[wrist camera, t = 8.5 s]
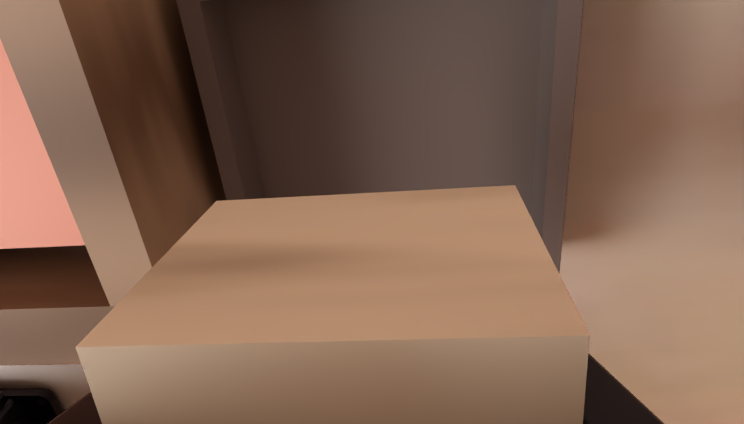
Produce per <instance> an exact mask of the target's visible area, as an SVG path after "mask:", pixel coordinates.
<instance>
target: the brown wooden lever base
mask: <svg viewBox="0 0 744 424" xmlns="http://www.w3.org/2000/svg"><path fill="white" fill-rule="evenodd" d="M0 39H1V42H2V44H3V47H4V49H5V51H6V54H7V56H8V59H9V61H10V64H11V66H12V68H13V71H14V73H15V76H16V78H17V81H18V83H19V85H20V88H21V90H22V93H23V95H24V98H25V100H26V102H27V105H28V107H29V110H30V112H31V115H32V117H33V119H34V122H35V124H36V127H37V129H38V132H39V134H40V136H41V139H42V141H43V144H44V146H45V149H46V151H47V153H48V156H49V158H50V161H51V163H52V166H53V168H54V171H55V173H56V175H57V178H58V180H59V183H60V185H61V188H62V190H63V192H64V195H65V197H66V200H67V202H68V205H69V207H70V209H71V212H72V214H73V217H74V219H75V222H76V224H77V226H78V229H79V231H80V234H81V236H82V239H83V241H84V243H85V245H80V246H57V247H33V248H10V249H0V365H56V364H81V362H80V359H79V356H78V353H77V351H76V348H75V347H76V346H77V345H78V344H79V343H80V342H81V341H82V340H83V339H84V338H85V337H86V336H87V335H88V334H89V333H90V332H91V330H92V329H93V328H94V327H95V326H96V325H97V324H98V323H99V322H100V321H101V320H102V319H103V318H104V317H105V316H106V315H107V314H108V313H109V312H110V311H111V310H112V309H113V308H114V307H115V306H116V305H117V304H118V302H119V301H120V300H121V299H122V298H123V297H124V296H125V295H126V294H127V293H128V292H129V291H130V290H131V289H132V288H133V287H134V286H135V285H136V284H137V283H138V282H139V281H140V280H141V279H142V278H143V277H144V276H145V274H146V273H147V272H148V271H149V270H150V269H151V268H152V267H153V266H154V265H155V264H156V263H157V262H158V261H159V260H160V259H161V258H162V257H163V256H164V255H165V254H166V253H167V252H168V251H169V250H170V249H171V248H172V246H173V245H174V244H175V243H176V242H177V241H178V240H179V239H180V238H181V237H182V236H183V235H184V234H185V233H186V232H187V231H188V230H189V229H190V228H191V227H192V226H193V225H194V224H195V223H196V222H197V221H198V220H199V218H200V217H201V216H202V215H203V214H204V213H205V212H206V211H207V210H208V209H209V208H210V207H211V206H212V205H213V204H214V203H215V202H216V201H224V200H226V197H225V193H224V189H223V185H222V181H221V177H220V173H219V169H218V165H217V161H216V157H215V153H214V149H213V145H212V141H211V137H210V133H209V129H208V125H207V121H206V117H205V113H204V109H203V105H202V101H201V97H200V93H199V89H198V85H197V81H196V77H195V73H194V69H193V65H192V61H191V57H190V53H189V49H188V45H187V41H186V37H185V33H184V29H183V25H182V21H181V17H180V14H179V10H178V6H177V2H176V0H0Z"/></svg>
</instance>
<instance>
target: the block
mask: <svg viewBox="0 0 744 424" xmlns="http://www.w3.org/2000/svg"><path fill="white" fill-rule="evenodd" d="M589 339H590V335H589V333H588V331H587V329H586V327H585V325H584V323H583V321H582V319H581V317H580V315H579V313H578V311H577V309H576V307H575V305H574V303H573V301H572V299H571V297H570V295H569V293H568V291H567V289H566V287H565V285H564V283H563V281H562V279H561V276H560V274H559V272H558V270H557V268H556V266H555V264H554V262H553V260H552V258H551V256H550V254H549V252H548V250H547V248H546V246H545V244H544V242H543V240H542V238H541V236H540V234H539V232H538V230H537V228H536V226H535V224H534V222H533V220H532V218H531V216H530V214H529V212H528V210H527V208H526V206H525V204H524V202H523V200H522V198H521V196H520V194H519V192H518V190H517V188H516V186H515V185H509V186H490V187H471V188H452V189H433V190H414V191H395V192H376V193H357V194H338V195H319V196H300V197H281V198H262V199H243V200H224V201H216V202H215V203H214V204H213V205H212V206H211V207H210V208H209V209H208V210H207V211H206V212H205V213H204V214H203V215H202V216H201V217H200V218H199V220H198V221H197V222H196V223H195V224H194V225H193V226H192V227H191V228H190V229H189V230H188V231H187V232H186V233H185V234H184V235H183V236H182V237H181V238H180V239H179V240H178V241H177V242H176V243H175V244H174V245H173V246H172V248H171V249H170V250H169V251H168V252H167V253H166V254H165V255H164V256H163V257H162V258H161V259H160V260H159V261H158V262H157V263H156V264H155V265H154V266H153V267H152V268H151V269H150V270H149V271H148V272H147V273H146V274H145V276H144V277H143V278H142V279H141V280H140V281H139V282H138V283H137V284H136V285H135V286H134V287H133V288H132V289H131V290H130V291H129V292H128V293H127V294H126V295H125V296H124V297H123V298H122V299H121V300H120V301H119V302H118V304H117V305H116V306H115V307H114V308H113V309H112V310H111V311H110V312H109V313H108V314H107V315H106V316H105V317H104V318H103V319H102V320H101V321H100V322H99V323H98V324H97V325H96V326H95V327H94V328H93V329H92V330H91V332H90V333H89V334H88V335H87V336H86V337H85V338H84V339H83V340H82V341H81V342H80V343H79V344H78V345H77V346H76V347H75V348H76V351H77V353H78V356H79V359H80V362H81V365H82V368H83V370H84V373H85V376H86V379H87V382H88V385H89V388H90V390H91V393H92V396H93V399H94V402H95V405H96V408H97V410H98V413H99V416H100V419H101V422H102V424H583V414H584V402H585V389H586V376H587V364H588V351H589Z"/></svg>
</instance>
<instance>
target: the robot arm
mask: <svg viewBox="0 0 744 424" xmlns="http://www.w3.org/2000/svg"><path fill="white" fill-rule="evenodd" d="M0 424H102V422H101V419H100V416H99V413H98V410H97V408H96V405H95V402H94V399H93V396H92V393H91V392H90V393H88V394H87V395H86V396H84V397H83V398H81V399H80V400H79V401H77V402H76V403H75V404H73V405H72V406H71V407H69V408H68V409H67V410H65V411H64V412H63V410H62V408H61V406H60V404H59V402H58V400H57V398H56V396H55V395H54V394H53V393H52V392H50V391H49V390H46V389H0ZM583 424H664V423H663V422H662V421H661V420H660V419H659V418H658V417H656V416H655V415H654V414H653V413H652V412H651V411H650V410H649V409H648V408H647V407H646V406H645V405H644V404H643V403H641V402H640V401H639V400H638V399H637V398H636V397H635V396H634V395H633V394H632V393H631V392H630V391H629V390H627V389H626V388H625V387H624V386H623V385H622V384H621V383H620V382H619V381H618V380H617V379H616V378H615V377H614V376H612V375H611V374H610V373H609V372H608V371H607V370H606V369H605V368H604V367H603V366H602V365H601V364H600V363H598V362H597V361H596V360H595V359H594V358H593V357H592V356H591V355H590V354H589V353H588V364H587V376H586V389H585V402H584V414H583Z"/></svg>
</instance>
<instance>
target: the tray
mask: <svg viewBox="0 0 744 424" xmlns="http://www.w3.org/2000/svg"><path fill="white" fill-rule="evenodd" d="M583 1H584V0H176V2H177V6H178V10H179V14H180V17H181V21H182V25H183V29H184V33H185V37H186V41H187V45H188V49H189V53H190V57H191V61H192V65H193V69H194V73H195V77H196V81H197V85H198V89H199V93H200V97H201V101H202V105H203V109H204V113H205V117H206V121H207V125H208V129H209V133H210V137H211V141H212V145H213V149H214V153H215V157H216V161H217V165H218V169H219V173H220V177H221V181H222V185H223V189H224V193H225V197H226V200H243V199H262V198H281V197H300V196H319V195H338V194H357V193H376V192H395V191H414V190H433V189H452V188H471V187H490V186H509V185H515V186H516V188H517V190H518V192H519V194H520V196H521V198H522V200H523V202H524V204H525V206H526V208H527V210H528V212H529V214H530V216H531V218H532V220H533V222H534V224H535V226H536V228H537V230H538V232H539V234H540V236H541V238H542V240H543V242H544V244H545V246H546V248H547V250H548V252H549V254H550V256H551V258H552V260H553V262H554V264H555V266H556V268H557V270H558V272H559V271H560V260H561V248H562V237H563V226H564V215H565V203H566V192H567V181H568V170H569V158H570V147H571V136H572V125H573V113H574V102H575V91H576V80H577V68H578V57H579V46H580V35H581V23H582V12H583Z"/></svg>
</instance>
